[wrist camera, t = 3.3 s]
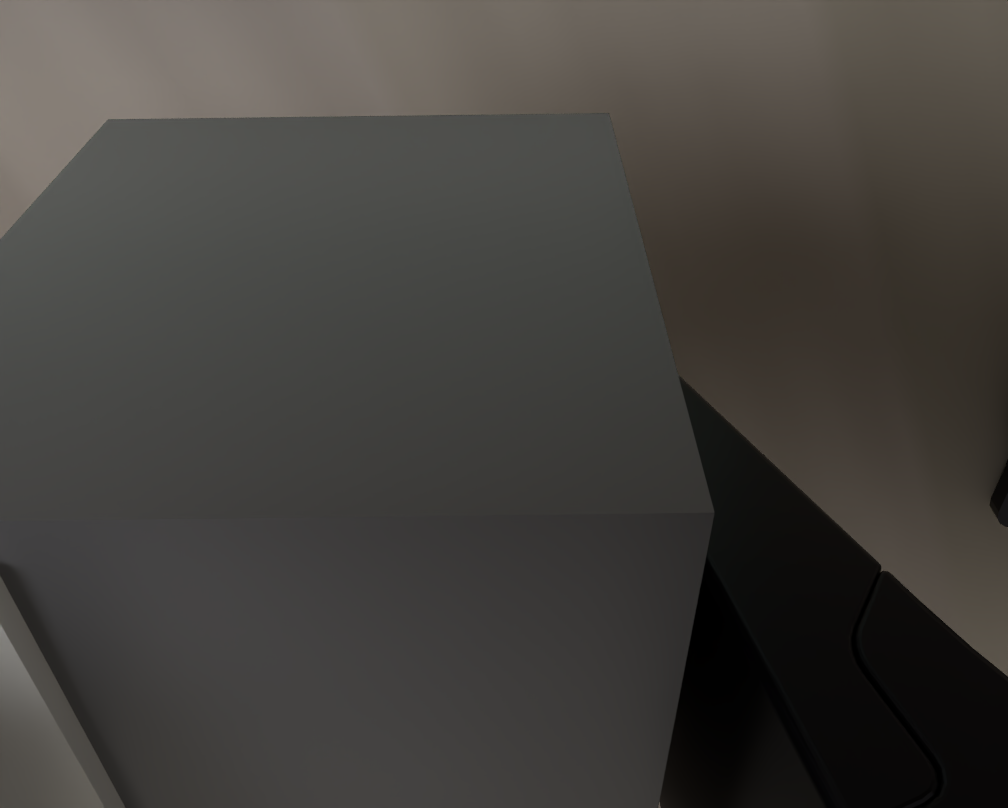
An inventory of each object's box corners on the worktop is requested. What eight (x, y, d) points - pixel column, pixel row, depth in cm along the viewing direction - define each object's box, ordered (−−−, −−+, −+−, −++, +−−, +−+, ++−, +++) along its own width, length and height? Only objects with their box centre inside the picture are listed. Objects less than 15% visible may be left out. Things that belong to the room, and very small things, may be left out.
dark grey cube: (609, 113, 8) (719, 537, 4) (585, 479, 11) (637, 945, 7) (108, 119, 8) (-278, 548, 4) (213, 483, 11) (47, 952, 7)
